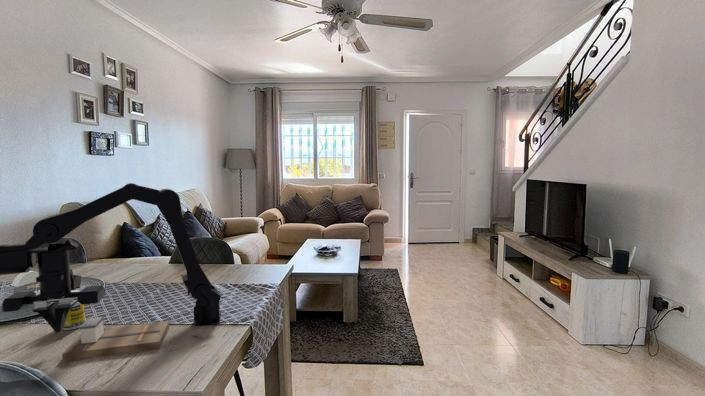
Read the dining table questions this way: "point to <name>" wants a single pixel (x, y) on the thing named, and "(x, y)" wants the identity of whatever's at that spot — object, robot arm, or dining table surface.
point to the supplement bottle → (75, 316)
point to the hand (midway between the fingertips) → (59, 332)
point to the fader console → (119, 341)
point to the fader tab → (91, 330)
